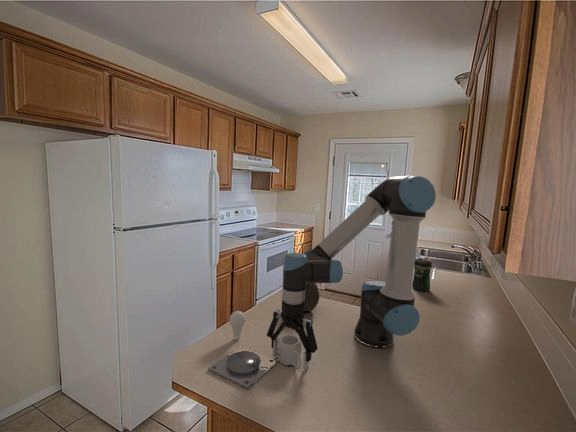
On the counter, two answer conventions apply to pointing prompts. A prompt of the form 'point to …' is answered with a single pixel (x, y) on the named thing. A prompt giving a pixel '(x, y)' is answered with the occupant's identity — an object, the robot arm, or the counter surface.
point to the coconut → (311, 296)
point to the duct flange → (239, 368)
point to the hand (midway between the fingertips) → (290, 363)
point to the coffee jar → (422, 275)
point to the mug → (289, 350)
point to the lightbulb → (237, 322)
